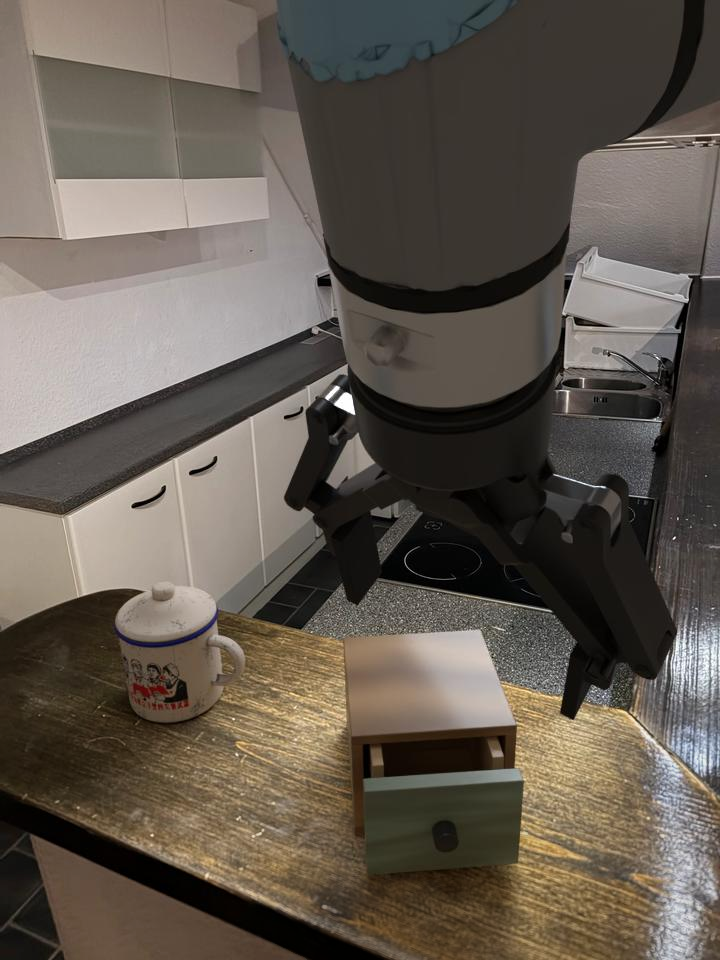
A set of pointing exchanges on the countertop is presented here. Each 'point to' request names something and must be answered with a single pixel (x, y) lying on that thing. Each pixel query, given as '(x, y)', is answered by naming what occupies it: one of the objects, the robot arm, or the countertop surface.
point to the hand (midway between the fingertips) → (463, 637)
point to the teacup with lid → (174, 652)
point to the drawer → (440, 805)
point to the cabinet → (421, 696)
